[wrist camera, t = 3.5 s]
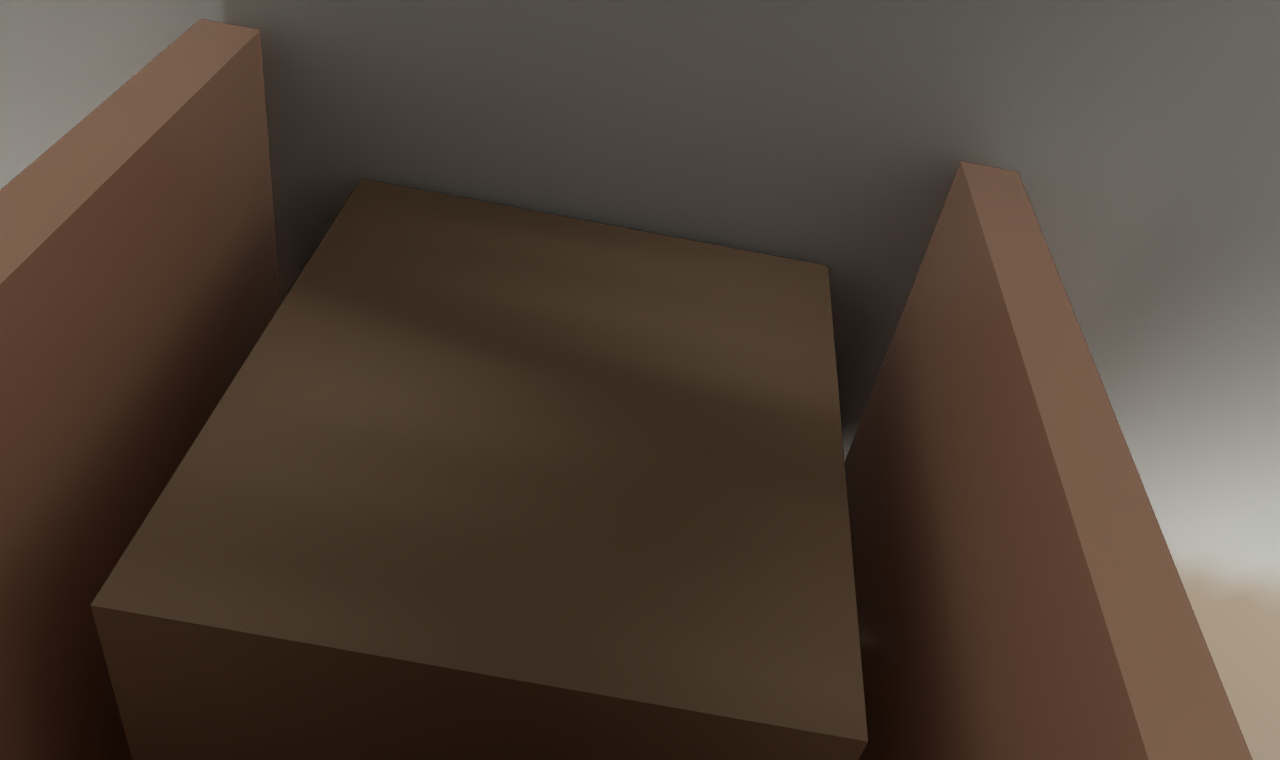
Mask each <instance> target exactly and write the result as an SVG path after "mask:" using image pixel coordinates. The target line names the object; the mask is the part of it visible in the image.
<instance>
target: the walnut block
mask: <svg viewBox="0 0 1280 760" xmlns="http://www.w3.org/2000/svg"><path fill="white" fill-rule="evenodd" d="M91 609H92V613H93V616H94V620H95V624H96V627H97V631H98V635H99V638H100V642H101V646H102V650H103V653H104V657H105V661H106V664H107V668H108V672H109V675H110V679H111V683H112V687H113V690H114V694H115V698H116V701H117V705H118V709H119V712H120V716H121V720H122V723H123V727H124V731H125V735H126V738H127V742H128V746H129V749H130V753H131V757H132V760H859V758H860V756H861V754H862V752H863V750H864V748H865V746H866V745H867V743H868V735H867V723H866V711H865V699H864V687H863V676H862V664H861V652H860V640H859V628H858V616H857V604H856V593H855V581H854V569H853V557H852V545H851V533H850V521H849V509H848V498H847V486H846V474H845V462H844V450H843V438H842V426H841V415H840V403H839V391H838V379H837V367H836V355H835V343H834V332H833V320H832V308H831V296H830V284H829V272H828V266H826V265H821V264H815V263H810V262H805V261H799V260H794V259H789V258H783V257H778V256H773V255H767V254H762V253H757V252H751V251H746V250H741V249H735V248H730V247H725V246H719V245H714V244H708V243H703V242H698V241H692V240H687V239H682V238H676V237H671V236H666V235H660V234H655V233H650V232H644V231H639V230H634V229H628V228H623V227H618V226H612V225H607V224H602V223H596V222H591V221H586V220H580V219H575V218H570V217H564V216H559V215H554V214H548V213H543V212H537V211H532V210H527V209H521V208H516V207H511V206H505V205H500V204H495V203H489V202H484V201H479V200H473V199H468V198H463V197H457V196H452V195H447V194H441V193H436V192H431V191H425V190H420V189H415V188H409V187H404V186H399V185H393V184H388V183H382V182H377V181H372V180H366V179H360V181H359V182H358V184H357V185H356V187H355V189H354V190H353V192H352V193H351V195H350V197H349V198H348V200H347V201H346V203H345V204H344V206H343V208H342V209H341V211H340V212H339V214H338V215H337V217H336V219H335V220H334V222H333V223H332V225H331V227H330V228H329V230H328V231H327V233H326V234H325V236H324V238H323V239H322V241H321V242H320V244H319V245H318V247H317V249H316V250H315V252H314V253H313V255H312V257H311V258H310V260H309V261H308V263H307V264H306V266H305V268H304V269H303V271H302V272H301V274H300V275H299V277H298V279H297V280H296V282H295V283H294V285H293V286H292V288H291V290H290V291H289V293H288V294H287V296H286V298H285V299H284V301H283V302H282V304H281V305H280V307H279V309H278V310H277V312H276V313H275V315H274V316H273V318H272V320H271V321H270V323H269V324H268V326H267V328H266V329H265V331H264V332H263V334H262V335H261V337H260V339H259V340H258V342H257V343H256V345H255V346H254V348H253V350H252V351H251V353H250V354H249V356H248V358H247V359H246V361H245V362H244V364H243V365H242V367H241V369H240V370H239V372H238V373H237V375H236V376H235V378H234V380H233V381H232V383H231V384H230V386H229V387H228V389H227V391H226V392H225V394H224V395H223V397H222V399H221V400H220V402H219V403H218V405H217V406H216V408H215V410H214V411H213V413H212V414H211V416H210V417H209V419H208V421H207V422H206V424H205V425H204V427H203V429H202V430H201V432H200V433H199V435H198V436H197V438H196V440H195V441H194V443H193V444H192V446H191V447H190V449H189V451H188V452H187V454H186V455H185V457H184V459H183V460H182V462H181V463H180V465H179V466H178V468H177V470H176V471H175V473H174V474H173V476H172V477H171V479H170V481H169V482H168V484H167V485H166V487H165V488H164V490H163V492H162V493H161V495H160V496H159V498H158V500H157V501H156V503H155V504H154V506H153V507H152V509H151V511H150V512H149V514H148V515H147V517H146V518H145V520H144V522H143V523H142V525H141V526H140V528H139V530H138V531H137V533H136V534H135V536H134V537H133V539H132V541H131V542H130V544H129V545H128V547H127V548H126V550H125V552H124V553H123V555H122V556H121V558H120V559H119V561H118V563H117V564H116V566H115V567H114V569H113V571H112V572H111V574H110V575H109V577H108V578H107V580H106V582H105V583H104V585H103V586H102V588H101V589H100V591H99V593H98V594H97V596H96V597H95V599H94V601H93V602H92V604H91Z"/></svg>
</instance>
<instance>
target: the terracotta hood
mask: <svg viewBox="0 0 1280 760" xmlns="http://www.w3.org/2000/svg"><path fill="white" fill-rule="evenodd" d="M280 305H281V303H280V289H279V276H278V262H277V249H276V235H275V222H274V209H273V195H272V182H271V168H270V155H269V141H268V128H267V114H266V101H265V87H264V74H263V60H262V47H261V33H260V30H258V29H252V28H247V27H242V26H236V25H231V24H226V23H220V22H215V21H210V20H204V19H200V20H199V21H198V22H196V23H195V24H194V25H193V26H192V27H191V28H189V29H188V30H187V31H186V32H185V33H184V34H182V35H181V36H180V37H179V38H178V39H177V40H175V41H174V42H173V43H172V44H171V45H170V46H168V47H167V48H166V49H165V50H164V51H163V52H161V53H160V54H159V55H158V56H157V57H156V58H154V59H153V60H152V61H151V62H150V63H149V64H147V65H146V66H145V67H144V68H143V69H142V70H140V71H139V72H138V73H137V74H136V75H134V76H133V77H132V78H131V79H130V80H129V81H127V82H126V83H125V84H124V85H123V86H122V87H120V88H119V89H118V90H117V91H116V92H115V93H113V94H112V95H111V96H110V97H109V98H108V99H106V100H105V101H104V102H103V103H102V104H101V105H99V106H98V107H97V108H96V109H95V110H94V111H92V112H91V113H90V114H89V115H88V116H87V117H85V118H84V119H83V120H82V121H81V122H80V123H78V124H77V125H76V126H75V127H74V128H72V129H71V130H70V131H69V132H68V133H67V134H65V135H64V136H63V137H62V138H61V139H60V140H58V141H57V142H56V143H55V144H54V145H53V146H51V147H50V148H49V149H48V150H47V151H46V152H44V153H43V154H42V155H41V156H40V157H39V158H37V159H36V160H35V161H34V162H33V163H32V164H30V165H29V166H28V167H27V168H26V169H25V170H23V171H22V172H21V173H20V174H19V175H18V176H16V177H15V178H14V179H13V180H12V181H11V182H9V183H8V184H7V185H6V186H5V187H3V188H2V189H1V190H0V760H132V757H131V753H130V749H129V746H128V742H127V738H126V735H125V731H124V727H123V723H122V720H121V716H120V712H119V709H118V705H117V701H116V698H115V694H114V690H113V687H112V683H111V679H110V675H109V672H108V668H107V664H106V661H105V657H104V653H103V650H102V646H101V642H100V638H99V635H98V631H97V627H96V624H95V620H94V616H93V613H92V609H91V604H92V602H93V601H94V599H95V597H96V596H97V594H98V593H99V591H100V589H101V588H102V586H103V585H104V583H105V582H106V580H107V578H108V577H109V575H110V574H111V572H112V571H113V569H114V567H115V566H116V564H117V563H118V561H119V559H120V558H121V556H122V555H123V553H124V552H125V550H126V548H127V547H128V545H129V544H130V542H131V541H132V539H133V537H134V536H135V534H136V533H137V531H138V530H139V528H140V526H141V525H142V523H143V522H144V520H145V518H146V517H147V515H148V514H149V512H150V511H151V509H152V507H153V506H154V504H155V503H156V501H157V500H158V498H159V496H160V495H161V493H162V492H163V490H164V488H165V487H166V485H167V484H168V482H169V481H170V479H171V477H172V476H173V474H174V473H175V471H176V470H177V468H178V466H179V465H180V463H181V462H182V460H183V459H184V457H185V455H186V454H187V452H188V451H189V449H190V447H191V446H192V444H193V443H194V441H195V440H196V438H197V436H198V435H199V433H200V432H201V430H202V429H203V427H204V425H205V424H206V422H207V421H208V419H209V417H210V416H211V414H212V413H213V411H214V410H215V408H216V406H217V405H218V403H219V402H220V400H221V399H222V397H223V395H224V394H225V392H226V391H227V389H228V387H229V386H230V384H231V383H232V381H233V380H234V378H235V376H236V375H237V373H238V372H239V370H240V369H241V367H242V365H243V364H244V362H245V361H246V359H247V358H248V356H249V354H250V353H251V351H252V350H253V348H254V346H255V345H256V343H257V342H258V340H259V339H260V337H261V335H262V334H263V332H264V331H265V329H266V328H267V326H268V324H269V323H270V321H271V320H272V318H273V316H274V315H275V313H276V312H277V310H278V309H279V307H280ZM845 474H846V486H847V498H848V509H849V521H850V533H851V545H852V557H853V569H854V581H855V593H856V604H857V616H858V628H859V640H860V652H861V664H862V676H863V687H864V699H865V711H866V723H867V735H868V743H867V745H866V746H865V748H864V750H863V752H862V754H861V756H860V758H859V760H1252V757H1251V755H1250V753H1249V750H1248V747H1247V745H1246V742H1245V740H1244V737H1243V735H1242V732H1241V730H1240V727H1239V725H1238V722H1237V719H1236V717H1235V715H1234V712H1233V709H1232V707H1231V705H1230V702H1229V700H1228V697H1227V695H1226V692H1225V690H1224V687H1223V684H1222V682H1221V679H1220V677H1219V674H1218V672H1217V669H1216V667H1215V664H1214V662H1213V659H1212V657H1211V654H1210V652H1209V649H1208V647H1207V644H1206V642H1205V639H1204V637H1203V634H1202V632H1201V629H1200V627H1199V624H1198V622H1197V619H1196V617H1195V614H1194V612H1193V609H1192V607H1191V604H1190V602H1189V599H1188V597H1187V594H1186V592H1185V589H1184V587H1183V584H1182V582H1181V579H1180V576H1179V574H1178V571H1177V569H1176V566H1175V564H1174V561H1173V559H1172V556H1171V554H1170V551H1169V549H1168V546H1167V544H1166V541H1165V539H1164V536H1163V534H1162V531H1161V529H1160V526H1159V524H1158V521H1157V519H1156V516H1155V514H1154V511H1153V509H1152V506H1151V504H1150V501H1149V499H1148V496H1147V494H1146V491H1145V489H1144V486H1143V484H1142V481H1141V479H1140V476H1139V474H1138V471H1137V469H1136V466H1135V464H1134V461H1133V459H1132V456H1131V454H1130V451H1129V449H1128V446H1127V444H1126V441H1125V439H1124V436H1123V434H1122V431H1121V429H1120V426H1119V424H1118V421H1117V419H1116V416H1115V413H1114V411H1113V408H1112V406H1111V403H1110V401H1109V398H1108V396H1107V393H1106V391H1105V388H1104V386H1103V383H1102V381H1101V378H1100V376H1099V373H1098V371H1097V368H1096V366H1095V363H1094V361H1093V358H1092V356H1091V353H1090V351H1089V348H1088V346H1087V343H1086V341H1085V338H1084V336H1083V333H1082V331H1081V328H1080V326H1079V323H1078V321H1077V318H1076V316H1075V313H1074V311H1073V308H1072V306H1071V303H1070V301H1069V298H1068V296H1067V293H1066V291H1065V288H1064V286H1063V283H1062V281H1061V278H1060V276H1059V273H1058V271H1057V268H1056V266H1055V263H1054V261H1053V258H1052V256H1051V253H1050V250H1049V248H1048V245H1047V243H1046V240H1045V238H1044V235H1043V233H1042V230H1041V228H1040V225H1039V223H1038V220H1037V218H1036V215H1035V213H1034V210H1033V208H1032V205H1031V203H1030V200H1029V198H1028V195H1027V193H1026V190H1025V188H1024V185H1023V183H1022V180H1021V178H1020V175H1019V173H1018V172H1016V171H1010V170H1005V169H1000V168H994V167H989V166H984V165H978V164H973V163H968V162H962V161H961V162H960V165H959V167H958V170H957V173H956V175H955V178H954V180H953V183H952V185H951V188H950V191H949V193H948V196H947V198H946V201H945V204H944V206H943V209H942V211H941V214H940V217H939V219H938V222H937V224H936V227H935V230H934V232H933V235H932V237H931V240H930V242H929V245H928V248H927V250H926V253H925V255H924V258H923V261H922V263H921V266H920V268H919V271H918V274H917V276H916V279H915V281H914V284H913V286H912V289H911V292H910V294H909V297H908V299H907V302H906V305H905V307H904V310H903V312H902V315H901V318H900V320H899V323H898V325H897V328H896V330H895V333H894V336H893V338H892V341H891V343H890V346H889V349H888V351H887V354H886V356H885V359H884V362H883V364H882V367H881V369H880V372H879V374H878V377H877V380H876V382H875V385H874V387H873V390H872V393H871V395H870V398H869V400H868V403H867V406H866V408H865V411H864V413H863V416H862V419H861V421H860V424H859V426H858V429H857V431H856V434H855V437H854V439H853V442H852V444H851V447H850V450H849V452H848V455H847V457H846V460H845Z"/></svg>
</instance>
